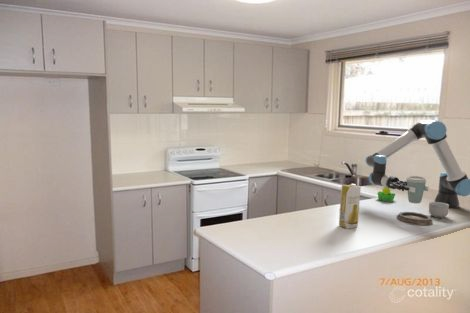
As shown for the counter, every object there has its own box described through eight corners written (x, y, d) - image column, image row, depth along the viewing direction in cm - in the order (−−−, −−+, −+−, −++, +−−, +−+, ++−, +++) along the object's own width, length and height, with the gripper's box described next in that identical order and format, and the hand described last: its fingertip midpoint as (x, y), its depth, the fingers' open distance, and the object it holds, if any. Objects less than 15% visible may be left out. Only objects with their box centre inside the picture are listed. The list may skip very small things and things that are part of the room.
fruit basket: (395, 200, 268) (396, 185, 266) (393, 202, 260) (394, 187, 259) (378, 198, 274) (379, 182, 272) (376, 200, 266) (377, 184, 265)
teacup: (450, 219, 224) (451, 206, 222) (430, 218, 226) (432, 205, 225) (442, 213, 237) (443, 201, 236) (423, 212, 239) (425, 199, 238)
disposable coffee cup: (422, 205, 213) (425, 179, 211) (402, 202, 219) (405, 177, 217) (425, 201, 222) (427, 177, 220) (405, 199, 228) (407, 174, 225)
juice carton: (346, 229, 198) (350, 185, 195) (336, 225, 205) (339, 182, 202) (359, 227, 202) (363, 184, 199) (349, 223, 209) (352, 181, 206)
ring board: (411, 214, 233) (411, 210, 233) (439, 222, 216) (440, 218, 216) (389, 217, 225) (390, 213, 224) (417, 226, 208) (418, 222, 208)
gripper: (402, 186, 241) (434, 194, 221) (376, 189, 230) (407, 197, 211) (404, 175, 240) (435, 182, 220) (377, 177, 229) (408, 184, 210)
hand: (421, 189), depth 215 cm, fingers closed on disposable coffee cup, 11 cm apart
